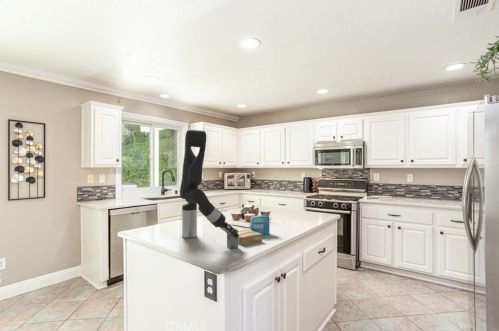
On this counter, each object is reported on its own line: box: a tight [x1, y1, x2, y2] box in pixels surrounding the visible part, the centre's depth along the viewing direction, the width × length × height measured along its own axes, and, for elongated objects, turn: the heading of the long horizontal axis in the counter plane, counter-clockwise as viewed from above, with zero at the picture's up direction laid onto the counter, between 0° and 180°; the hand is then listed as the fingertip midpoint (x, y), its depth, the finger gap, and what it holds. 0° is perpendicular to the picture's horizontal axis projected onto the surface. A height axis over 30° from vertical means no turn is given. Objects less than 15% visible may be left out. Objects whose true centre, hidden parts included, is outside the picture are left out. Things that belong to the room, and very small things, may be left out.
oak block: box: [238, 229, 263, 247], centre depth 160 cm, size 14×14×5 cm
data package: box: [249, 215, 270, 236], centre depth 176 cm, size 12×4×12 cm, turn 108°
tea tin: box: [226, 227, 239, 250], centre depth 148 cm, size 4×4×10 cm
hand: (233, 235), depth 148 cm, fingers open, 8 cm apart
